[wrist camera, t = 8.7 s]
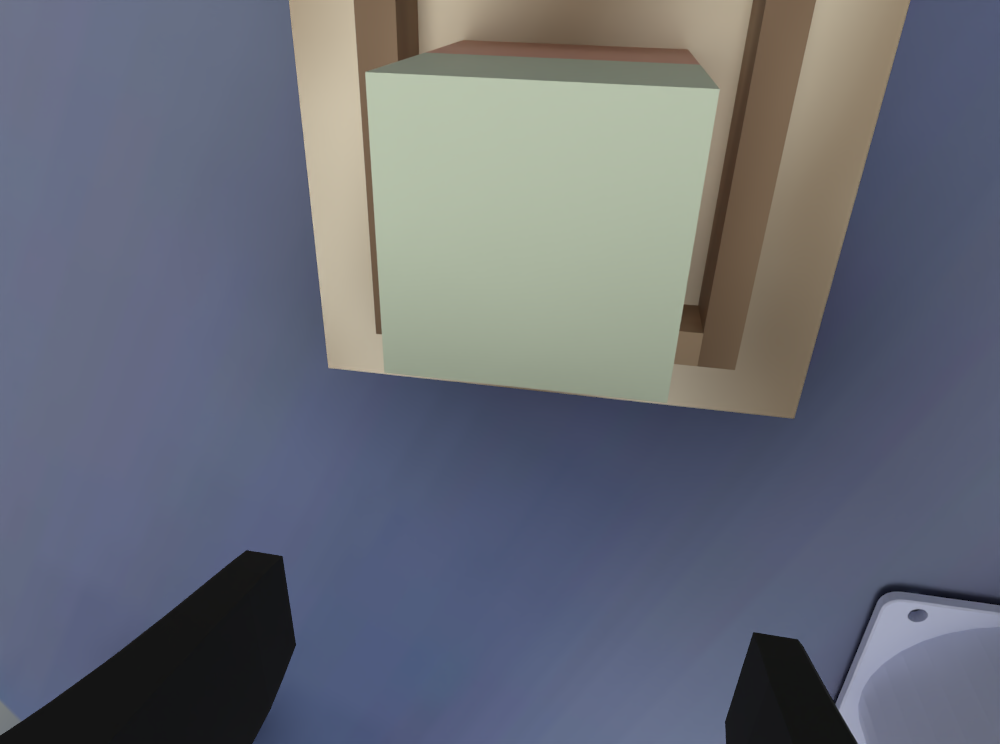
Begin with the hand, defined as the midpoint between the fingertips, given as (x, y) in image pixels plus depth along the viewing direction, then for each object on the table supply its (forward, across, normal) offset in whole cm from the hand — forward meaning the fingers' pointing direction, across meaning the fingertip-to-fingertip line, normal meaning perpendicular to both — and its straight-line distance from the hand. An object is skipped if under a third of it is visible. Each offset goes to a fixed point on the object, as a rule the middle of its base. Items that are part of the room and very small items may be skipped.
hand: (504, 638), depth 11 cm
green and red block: (+8, 0, -6) cm, 10 cm away
